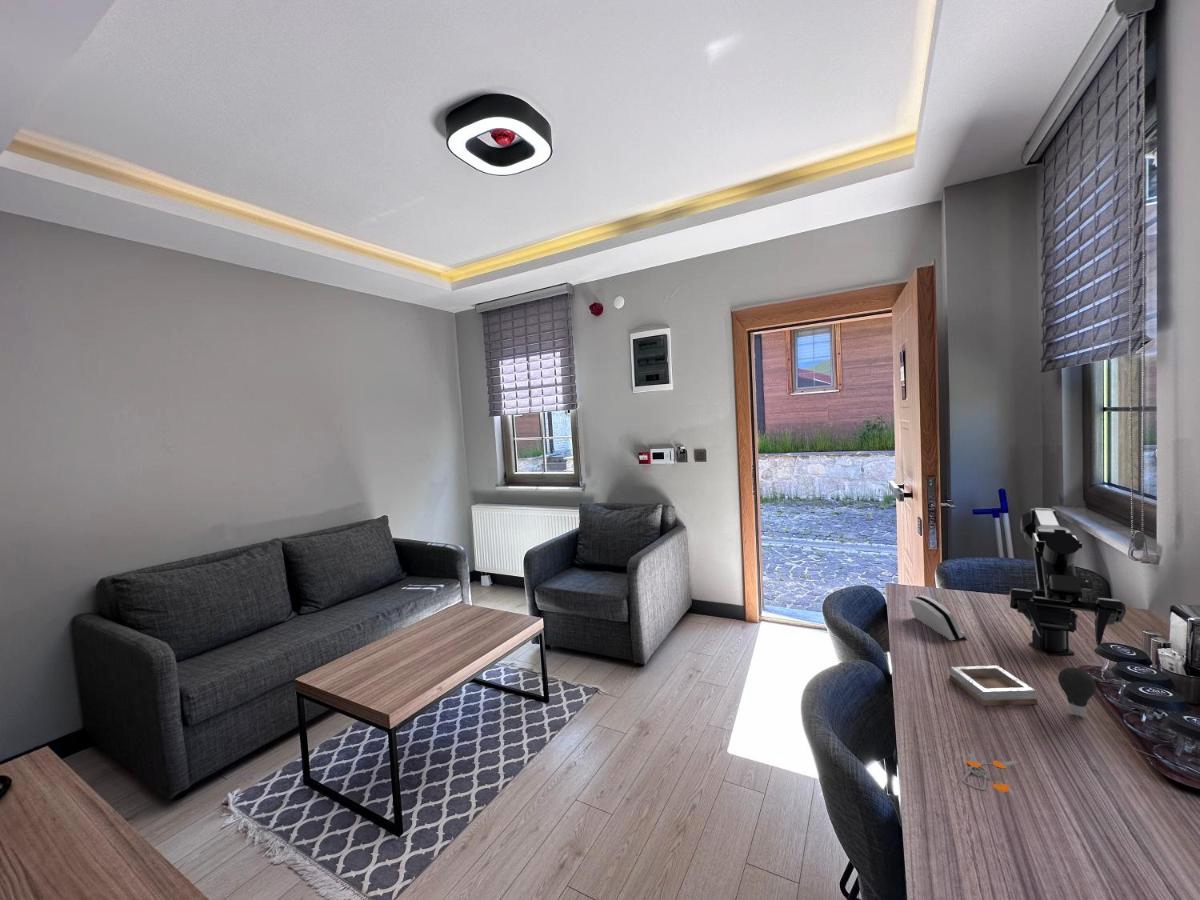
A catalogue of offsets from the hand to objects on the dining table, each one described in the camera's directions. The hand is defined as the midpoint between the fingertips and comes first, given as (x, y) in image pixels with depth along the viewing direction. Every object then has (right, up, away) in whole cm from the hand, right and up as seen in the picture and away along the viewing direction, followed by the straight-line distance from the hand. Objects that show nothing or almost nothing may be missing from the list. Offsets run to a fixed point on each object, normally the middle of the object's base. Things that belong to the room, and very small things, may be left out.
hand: (1069, 640), depth 106 cm
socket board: (-13, -14, +5) cm, 19 cm away
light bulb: (-3, -14, -5) cm, 15 cm away
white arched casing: (-3, -12, +38) cm, 40 cm away
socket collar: (-13, -14, +5) cm, 19 cm away
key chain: (-33, -17, -19) cm, 41 cm away
